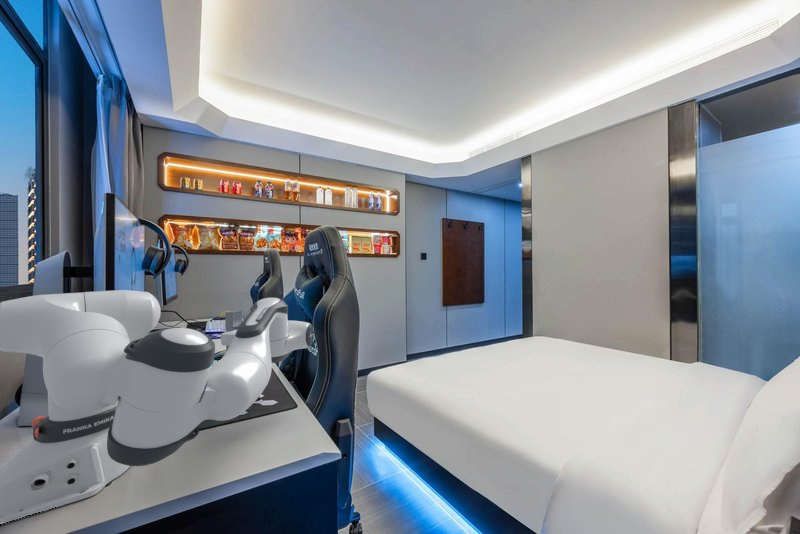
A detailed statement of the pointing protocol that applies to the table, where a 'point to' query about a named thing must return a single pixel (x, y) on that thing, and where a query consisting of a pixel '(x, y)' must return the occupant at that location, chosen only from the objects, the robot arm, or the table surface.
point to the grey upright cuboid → (232, 320)
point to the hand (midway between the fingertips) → (231, 332)
